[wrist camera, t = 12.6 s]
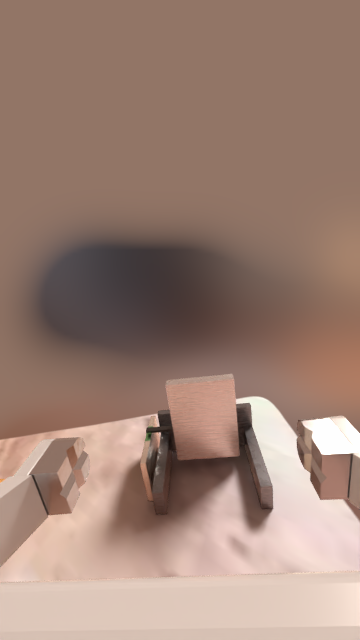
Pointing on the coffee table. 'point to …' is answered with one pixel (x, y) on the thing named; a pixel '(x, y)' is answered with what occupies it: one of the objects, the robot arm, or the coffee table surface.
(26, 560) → the coffee table surface
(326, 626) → the robot arm
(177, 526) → the coffee table surface
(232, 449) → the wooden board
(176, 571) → the coffee table surface
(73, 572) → the coffee table surface
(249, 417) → the gauge housing
